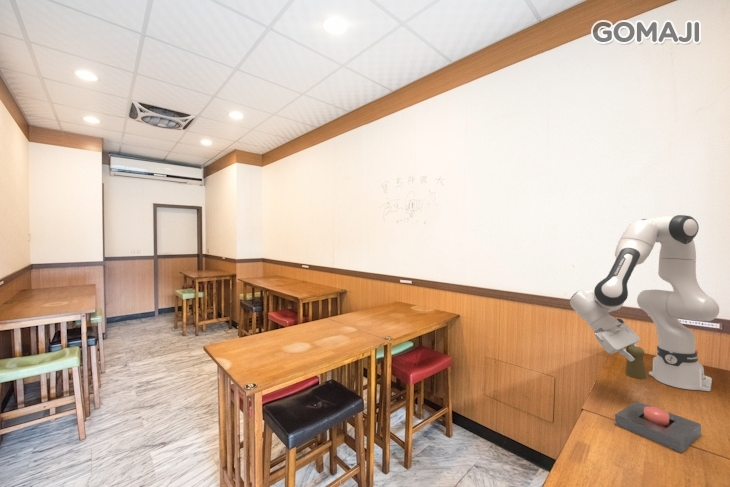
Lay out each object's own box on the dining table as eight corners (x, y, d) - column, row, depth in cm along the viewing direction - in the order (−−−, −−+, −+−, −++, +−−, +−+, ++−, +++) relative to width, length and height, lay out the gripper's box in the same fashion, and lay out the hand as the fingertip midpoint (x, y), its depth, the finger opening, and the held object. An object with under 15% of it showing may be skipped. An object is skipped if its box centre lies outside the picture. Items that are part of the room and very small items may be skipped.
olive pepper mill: (651, 379, 109) (650, 350, 109) (631, 379, 111) (630, 349, 111) (639, 372, 115) (638, 344, 115) (621, 371, 117) (620, 343, 116)
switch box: (637, 410, 109) (636, 401, 109) (701, 435, 95) (700, 424, 95) (615, 424, 101) (614, 414, 101) (681, 453, 87) (680, 441, 87)
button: (648, 416, 102) (648, 404, 102) (672, 425, 97) (672, 413, 97) (640, 421, 99) (640, 409, 99) (665, 431, 94) (664, 418, 94)
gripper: (598, 327, 114) (631, 361, 106) (624, 318, 124) (656, 348, 115) (585, 335, 118) (616, 369, 110) (611, 326, 128) (642, 356, 119)
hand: (637, 358), depth 112 cm, fingers closed on olive pepper mill, 5 cm apart
